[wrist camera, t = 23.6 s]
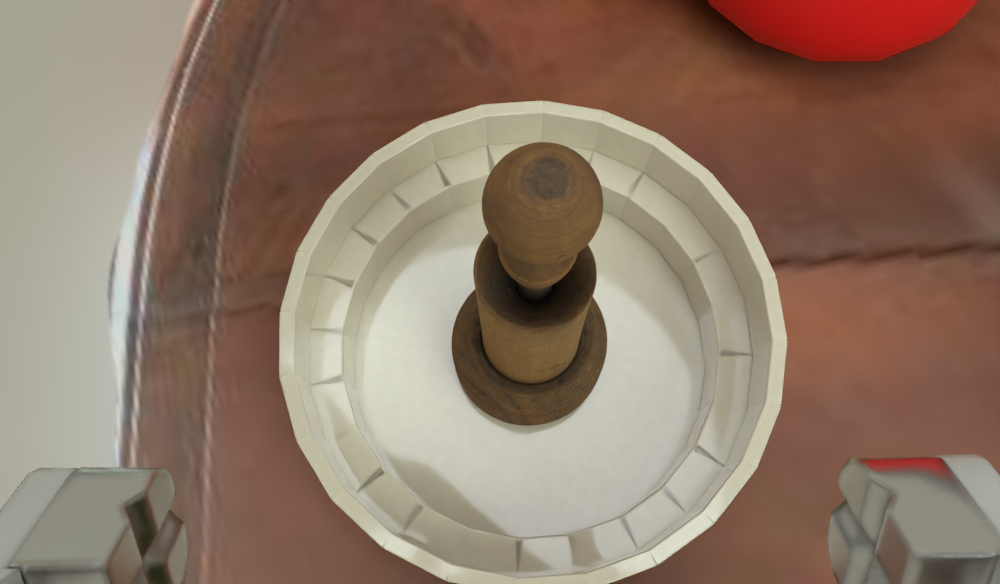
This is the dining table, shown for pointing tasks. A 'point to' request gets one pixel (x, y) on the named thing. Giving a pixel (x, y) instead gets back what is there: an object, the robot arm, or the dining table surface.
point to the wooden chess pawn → (534, 290)
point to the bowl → (573, 438)
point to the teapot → (843, 25)
